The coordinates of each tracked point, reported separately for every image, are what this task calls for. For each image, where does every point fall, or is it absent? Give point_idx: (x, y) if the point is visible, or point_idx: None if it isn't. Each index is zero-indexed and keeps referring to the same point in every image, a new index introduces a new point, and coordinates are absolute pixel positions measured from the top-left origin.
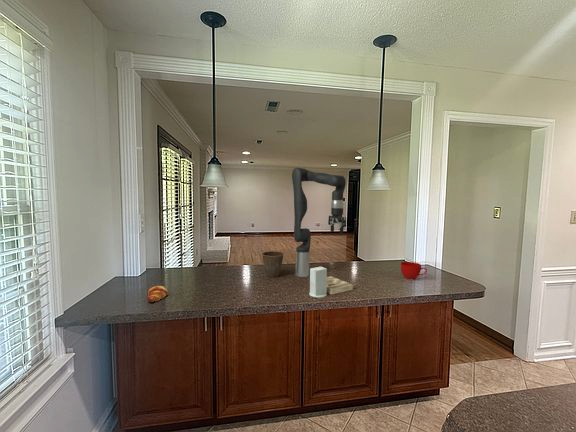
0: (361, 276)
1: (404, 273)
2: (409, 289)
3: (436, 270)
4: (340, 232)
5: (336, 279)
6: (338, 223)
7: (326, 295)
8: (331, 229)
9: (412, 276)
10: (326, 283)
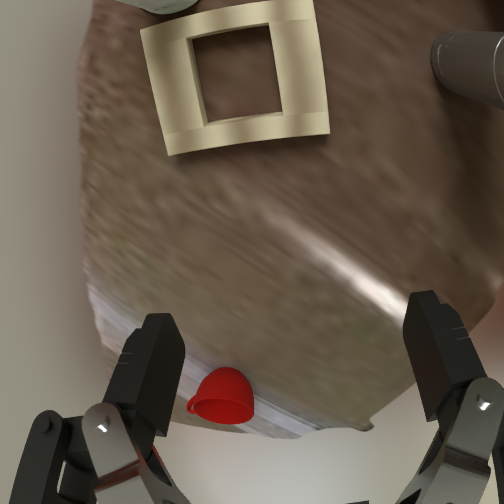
0: (315, 281)
1: (222, 376)
2: (136, 314)
3: (260, 432)
4: (143, 326)
5: (270, 125)
6: (116, 492)
7: None
8: (427, 325)
9: (205, 377)
10: (132, 4)
